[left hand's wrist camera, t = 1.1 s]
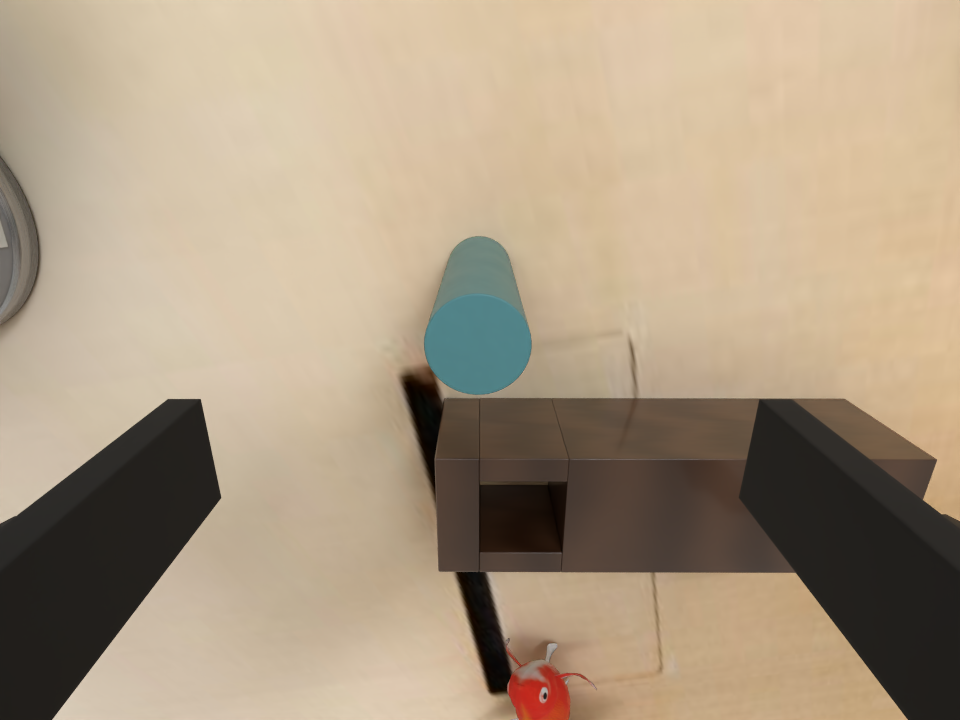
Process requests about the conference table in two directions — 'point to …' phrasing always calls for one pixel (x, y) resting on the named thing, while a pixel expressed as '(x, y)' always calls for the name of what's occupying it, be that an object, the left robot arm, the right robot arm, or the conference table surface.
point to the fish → (540, 689)
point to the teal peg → (478, 321)
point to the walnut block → (620, 483)
